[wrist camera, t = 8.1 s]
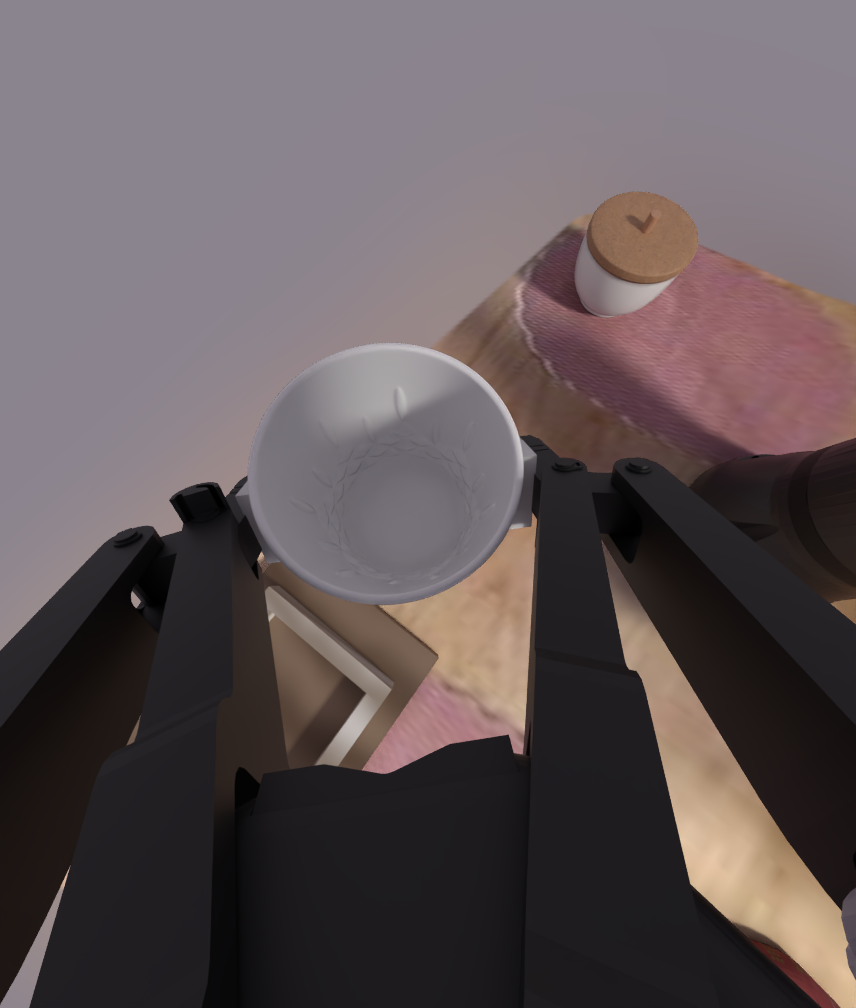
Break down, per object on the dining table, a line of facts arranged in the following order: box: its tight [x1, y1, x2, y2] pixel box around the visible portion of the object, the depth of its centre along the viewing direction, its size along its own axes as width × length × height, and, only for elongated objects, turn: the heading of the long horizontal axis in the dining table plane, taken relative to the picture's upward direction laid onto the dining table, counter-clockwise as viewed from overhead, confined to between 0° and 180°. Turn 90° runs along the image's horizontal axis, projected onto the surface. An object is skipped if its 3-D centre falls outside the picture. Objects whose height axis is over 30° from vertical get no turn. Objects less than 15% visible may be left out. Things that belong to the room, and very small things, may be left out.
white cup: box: [248, 343, 524, 605], centre depth 14 cm, size 8×8×10 cm
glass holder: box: [126, 562, 438, 770], centre depth 29 cm, size 22×18×3 cm
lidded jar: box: [574, 192, 698, 318], centre depth 35 cm, size 11×11×9 cm
